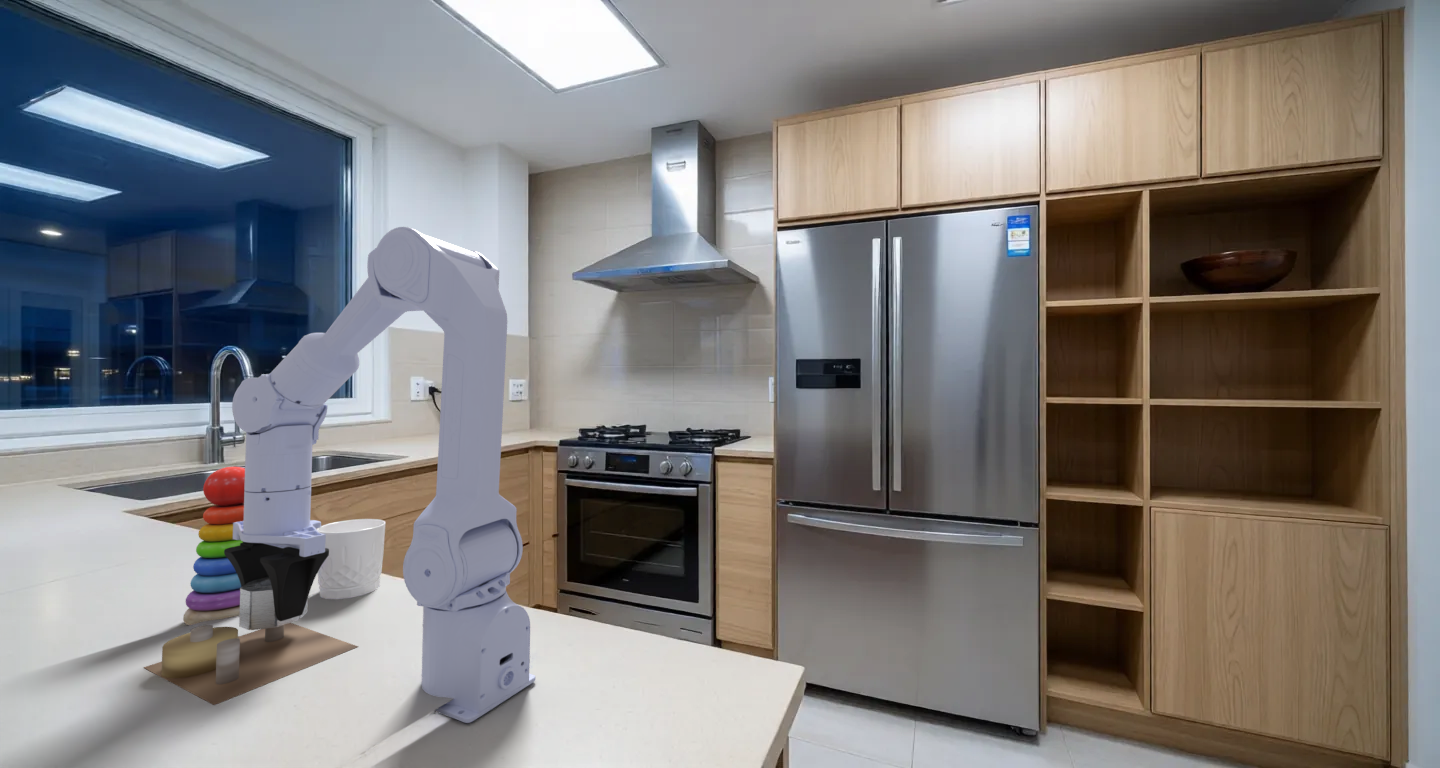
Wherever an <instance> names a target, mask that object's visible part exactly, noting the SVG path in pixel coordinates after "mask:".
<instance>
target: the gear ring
mask: <svg viewBox="0 0 1440 768" xmlns="http://www.w3.org/2000/svg"><path fill="white" fill-rule="evenodd" d="M308 601H309V598H308V599H307V602H306V605H305V608H304V611H303V614H302V615H300V616H297V617H293V618H290V619H287V620H284V621H279V620H278V619H277V617H276V613H275V608H274V598H273V590H272V586H271V582H270V579H269V577H265V578H261V579H257V580H253V581H251V582H248V583H247V584H245V585H244V586H242V587H241V588H240V615H238V616H239V622H238V624H239V625H238V626H239V627H240V628H243V629H245V630H248V631H257V630H260V629H267V628H275V627H279V626H282V625H285V624H288V623H294V622H297V621H299V620H302V618H303V617H304V616H305V615H306V614H307V613H308V611H309V609H308V607H309V605H308V604H309V602H308Z"/></svg>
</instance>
